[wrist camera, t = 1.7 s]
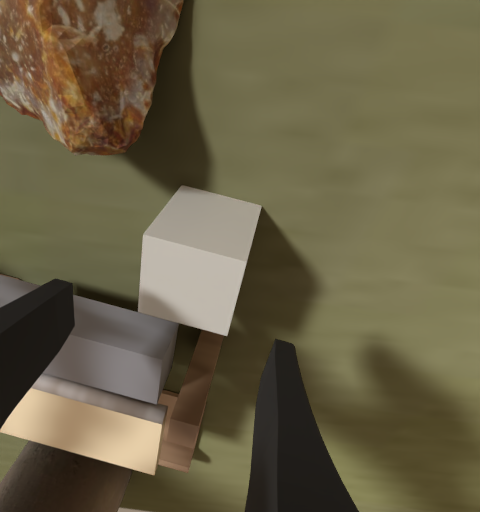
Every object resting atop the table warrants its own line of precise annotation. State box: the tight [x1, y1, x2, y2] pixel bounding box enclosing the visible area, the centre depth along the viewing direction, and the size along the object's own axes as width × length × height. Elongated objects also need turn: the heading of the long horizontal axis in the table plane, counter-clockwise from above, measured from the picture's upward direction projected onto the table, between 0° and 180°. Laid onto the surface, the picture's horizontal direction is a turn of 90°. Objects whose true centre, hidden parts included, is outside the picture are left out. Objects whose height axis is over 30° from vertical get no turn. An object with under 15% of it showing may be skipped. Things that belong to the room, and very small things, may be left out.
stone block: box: [138, 185, 262, 336], centre depth 17 cm, size 4×4×5 cm
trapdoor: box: [0, 275, 179, 475], centre depth 20 cm, size 11×10×3 cm
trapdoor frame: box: [0, 274, 224, 473], centre depth 24 cm, size 15×14×6 cm
